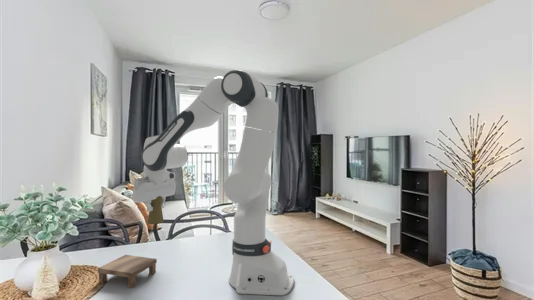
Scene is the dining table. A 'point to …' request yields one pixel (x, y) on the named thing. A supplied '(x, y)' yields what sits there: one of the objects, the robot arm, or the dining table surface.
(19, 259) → the dining table surface
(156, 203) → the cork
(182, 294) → the dining table surface
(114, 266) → the walnut stand
